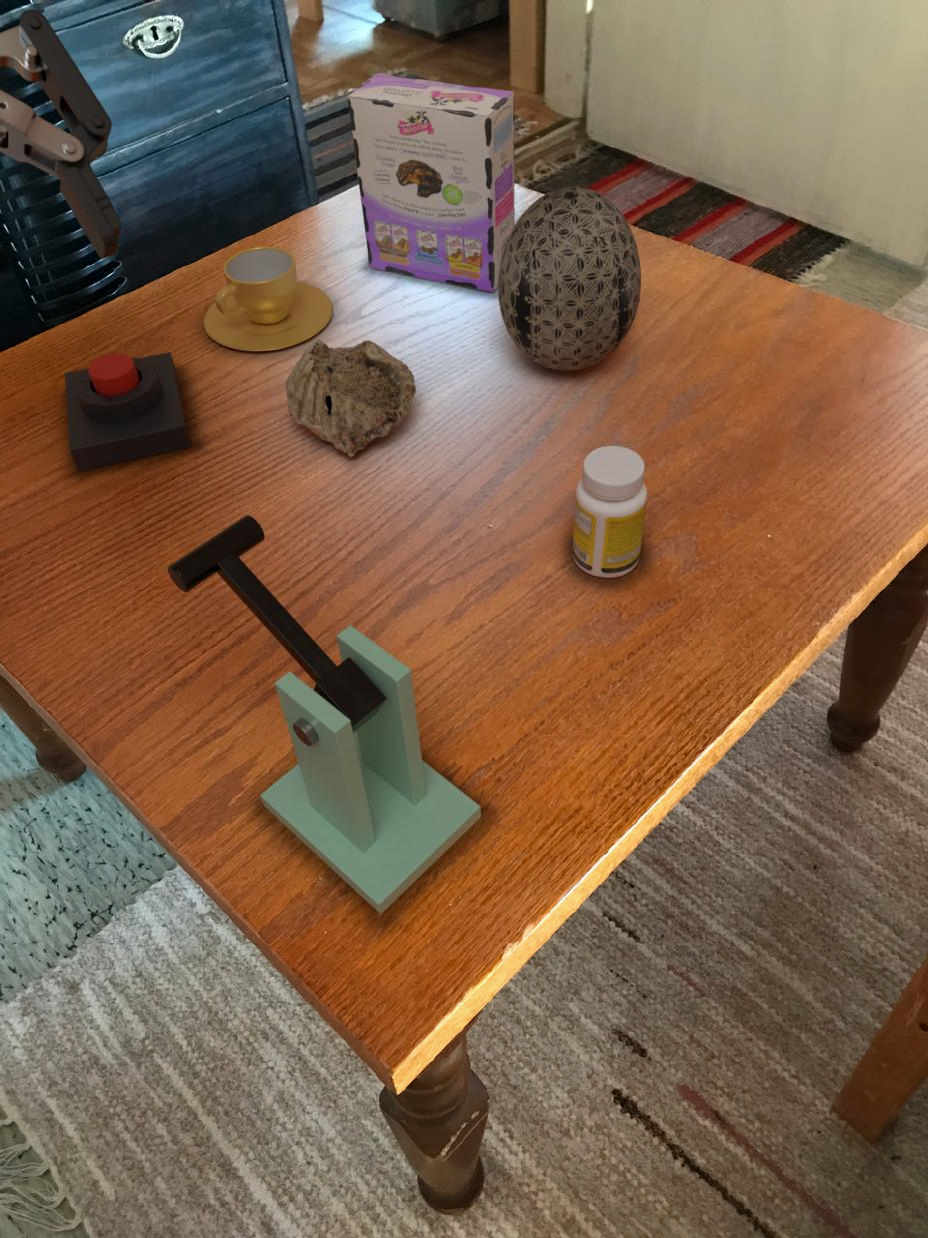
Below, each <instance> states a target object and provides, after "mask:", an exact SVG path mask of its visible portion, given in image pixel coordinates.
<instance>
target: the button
mask: <svg viewBox="0 0 928 1238" xmlns="http://www.w3.org/2000/svg"><path fill="white" fill-rule="evenodd" d="M131 357H132V356H130V355H128V354H125V353H122V352H121V353H120V352H119V353H117V352H116V353H108V354H105V355H102V356H100V357H98V358H96V359H94V360H93V361H92V362H91V363H90V365H89V366H88V368H89V369H88V368H87V369H88V372H89V375H90V378H91V380H92V383H93V385H94V388H95V390H96V392H97V393H98V394H100V395H105V396H114V395H119V394H124V393H126V392H128V391H130V390H132V389H133V388H135V387H137V386H138V384H139V375H138V372H137V370H136V367H135V364H134V361H133V359H132V358H133V357H132V358H131Z"/></svg>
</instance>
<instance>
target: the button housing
mask: <svg viewBox="0 0 928 1238" xmlns="http://www.w3.org/2000/svg"><path fill="white" fill-rule="evenodd" d="M130 357H131V358H132V359H133V361H134V364H135V367H136V370H137V372H138V375H139V384H138V386H137V387H135V388H133V389H132V390H130V391H128V392H126V393H124V394H119V395H114V396H105V395H100V394H98V393H97V392H96V390H95V388H94V385H93V383H92V380H91V378H90V375H89V372H88V369H89V367H88V368H83V369H77V370H72V371H69V372H65V373H64V382H65V384H64V385H65V386H64V387H65V400H66V412H67V427H68V430H67V431H68V443H69V452H70V454H71V456H72V459H73V461H74V463H75V465H76V468H77V470H78V472H83V471H88V470H93V469H97V468H101V467H106V466H111V465H115V464H120V463H125V462H130V461H134V460H139V459H143V458H148V457H153V456H158V455H161V454H166V453H172V452H176V451H180V450H185V449H189V448H192V442H191V437H190V432H189V427H188V423H187V418H186V412H185V407H184V402H183V397H182V393H181V387H180V383H179V378H178V372H177V369H176V366H175V362H174V359H173V356H172V352H171V351H170V352H164V353H163V352H162V353H158V354H154V355H149V356H144V357H132V356H130Z"/></svg>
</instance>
